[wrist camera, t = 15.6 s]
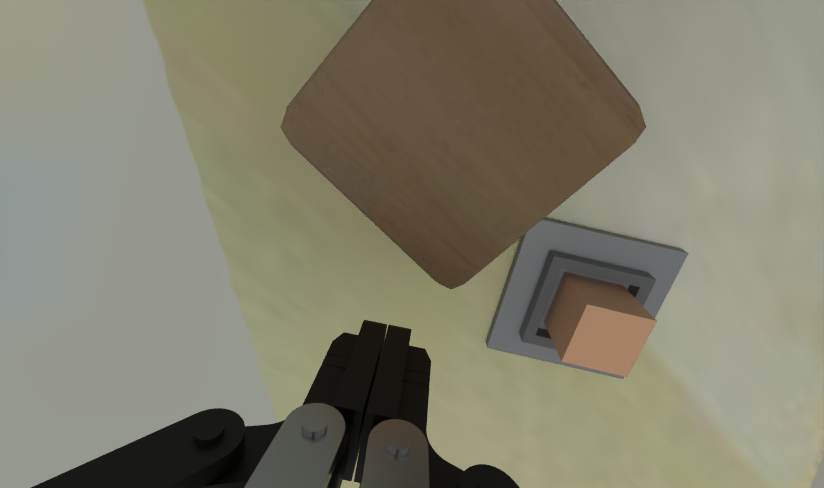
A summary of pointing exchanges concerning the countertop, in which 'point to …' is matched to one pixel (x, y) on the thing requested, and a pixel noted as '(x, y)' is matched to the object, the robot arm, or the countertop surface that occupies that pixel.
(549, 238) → the socket board
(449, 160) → the wooden block
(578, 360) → the brick
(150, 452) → the robot arm
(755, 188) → the countertop surface
